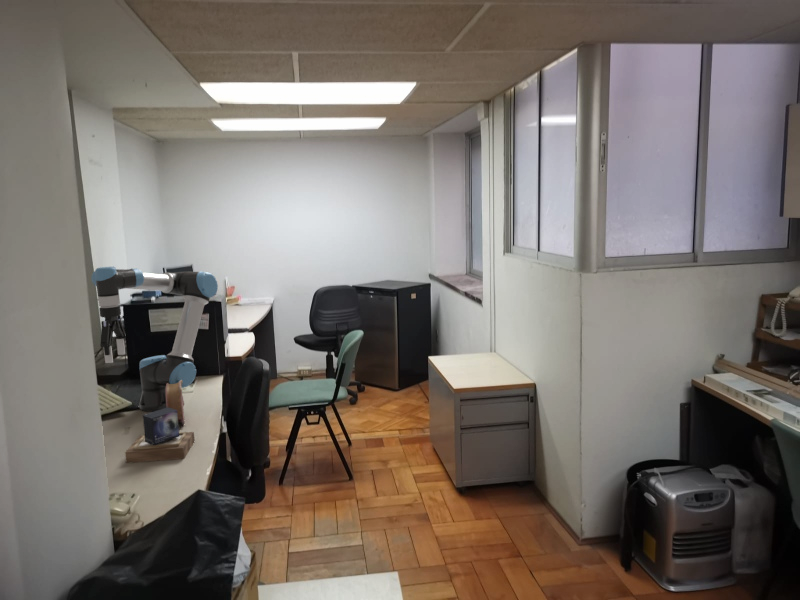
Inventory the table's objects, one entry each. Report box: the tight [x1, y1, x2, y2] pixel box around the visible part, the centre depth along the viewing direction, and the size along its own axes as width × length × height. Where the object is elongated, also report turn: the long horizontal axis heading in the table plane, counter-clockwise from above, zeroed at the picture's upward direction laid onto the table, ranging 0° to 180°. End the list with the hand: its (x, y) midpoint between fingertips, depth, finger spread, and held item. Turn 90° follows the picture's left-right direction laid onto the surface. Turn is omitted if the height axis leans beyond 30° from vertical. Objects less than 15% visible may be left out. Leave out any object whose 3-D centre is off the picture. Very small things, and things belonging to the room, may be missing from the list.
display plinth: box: [124, 431, 196, 464], centre depth 222 cm, size 16×20×5 cm
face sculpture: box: [165, 380, 186, 426], centre depth 253 cm, size 20×7×17 cm, turn 21°
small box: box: [142, 407, 180, 445], centre depth 221 cm, size 11×6×10 cm, turn 144°
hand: (115, 358), depth 241 cm, fingers open, 13 cm apart
